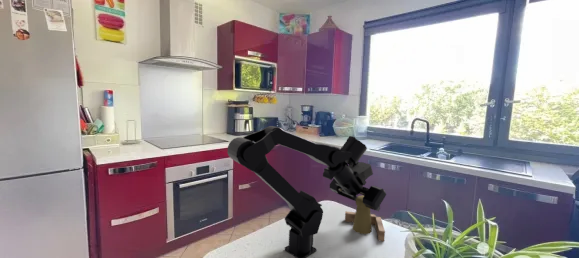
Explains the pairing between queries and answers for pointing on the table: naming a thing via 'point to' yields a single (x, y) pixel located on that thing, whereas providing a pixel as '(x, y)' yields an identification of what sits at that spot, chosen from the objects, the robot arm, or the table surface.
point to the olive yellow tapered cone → (362, 217)
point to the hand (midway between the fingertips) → (367, 204)
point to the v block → (374, 221)
